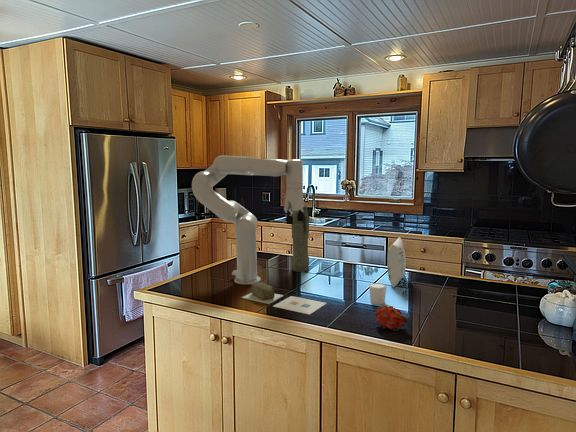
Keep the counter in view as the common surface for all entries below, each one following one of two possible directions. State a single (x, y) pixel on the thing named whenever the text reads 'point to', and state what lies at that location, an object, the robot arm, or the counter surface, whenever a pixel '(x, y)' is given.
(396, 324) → the dragon fruit
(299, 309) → the tile
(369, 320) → the counter surface
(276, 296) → the pale green pad
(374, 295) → the white cylinder
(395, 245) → the pouch
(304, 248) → the olive stone pillar
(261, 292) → the stone block
